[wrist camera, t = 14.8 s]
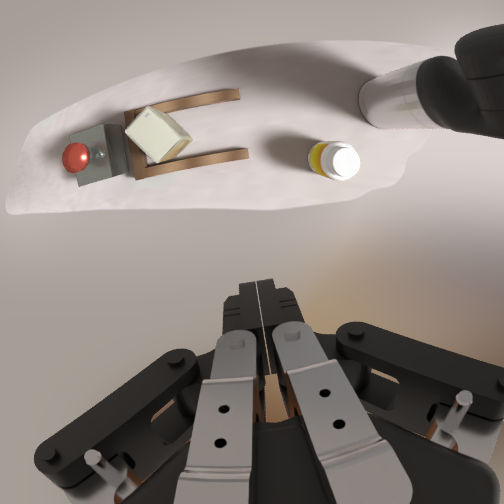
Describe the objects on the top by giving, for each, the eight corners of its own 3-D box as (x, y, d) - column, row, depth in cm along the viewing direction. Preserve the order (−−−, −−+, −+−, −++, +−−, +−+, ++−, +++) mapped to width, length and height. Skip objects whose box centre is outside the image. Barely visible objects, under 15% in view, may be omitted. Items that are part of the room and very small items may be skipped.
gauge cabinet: (120, 125, 41) (103, 123, 34) (128, 172, 43) (112, 177, 37) (87, 136, 41) (67, 136, 34) (95, 181, 43) (76, 187, 37)
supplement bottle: (312, 179, 46) (332, 188, 36) (302, 146, 44) (321, 147, 34) (343, 170, 46) (369, 177, 36) (334, 138, 44) (359, 137, 34)
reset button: (97, 138, 34) (84, 138, 30) (101, 165, 36) (89, 168, 32) (74, 146, 34) (60, 147, 30) (79, 172, 36) (65, 176, 32)
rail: (238, 90, 40) (238, 87, 37) (248, 157, 44) (249, 158, 41) (130, 113, 40) (124, 112, 37) (141, 178, 44) (135, 180, 41)
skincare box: (148, 133, 42) (121, 129, 30) (168, 113, 41) (146, 103, 29) (175, 160, 43) (156, 165, 32) (195, 140, 43) (182, 138, 31)
